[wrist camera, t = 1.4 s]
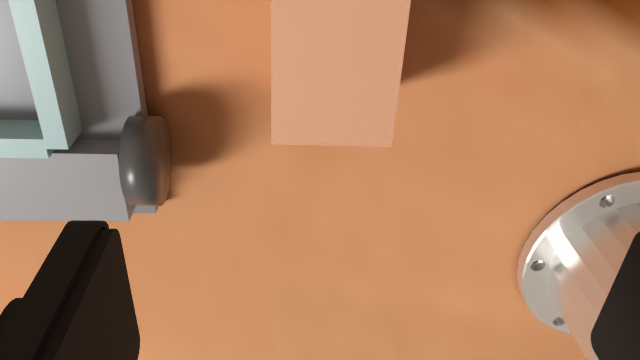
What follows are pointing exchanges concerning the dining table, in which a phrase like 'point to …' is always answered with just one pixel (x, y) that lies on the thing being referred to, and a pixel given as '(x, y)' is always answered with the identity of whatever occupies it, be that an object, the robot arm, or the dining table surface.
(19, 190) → the chassis
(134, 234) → the dining table surface
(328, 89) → the terracotta rectangular box
